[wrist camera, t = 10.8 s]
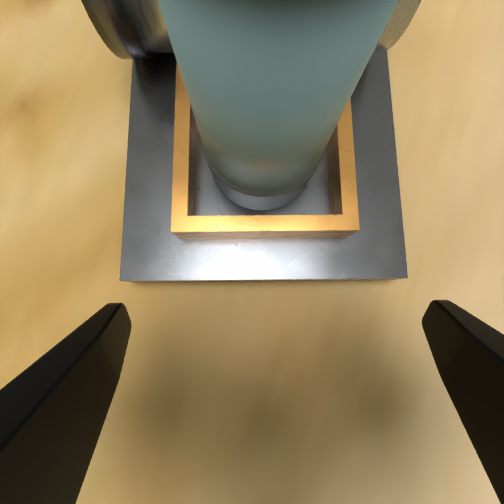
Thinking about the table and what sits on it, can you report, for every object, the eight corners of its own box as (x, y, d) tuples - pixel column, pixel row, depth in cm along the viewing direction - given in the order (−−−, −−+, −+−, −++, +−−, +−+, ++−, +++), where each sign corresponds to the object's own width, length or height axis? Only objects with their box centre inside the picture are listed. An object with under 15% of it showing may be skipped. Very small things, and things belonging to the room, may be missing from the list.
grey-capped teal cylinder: (318, 213, 16) (567, -96, 3) (207, 214, 16) (41, -92, 3) (313, 111, 17) (491, -421, 4) (208, 112, 17) (83, -421, 4)
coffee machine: (390, 279, 18) (577, 259, 8) (134, 282, 18) (-24, 265, 8) (367, 2, 21) (479, -278, 11) (148, 3, 21) (50, -279, 11)
